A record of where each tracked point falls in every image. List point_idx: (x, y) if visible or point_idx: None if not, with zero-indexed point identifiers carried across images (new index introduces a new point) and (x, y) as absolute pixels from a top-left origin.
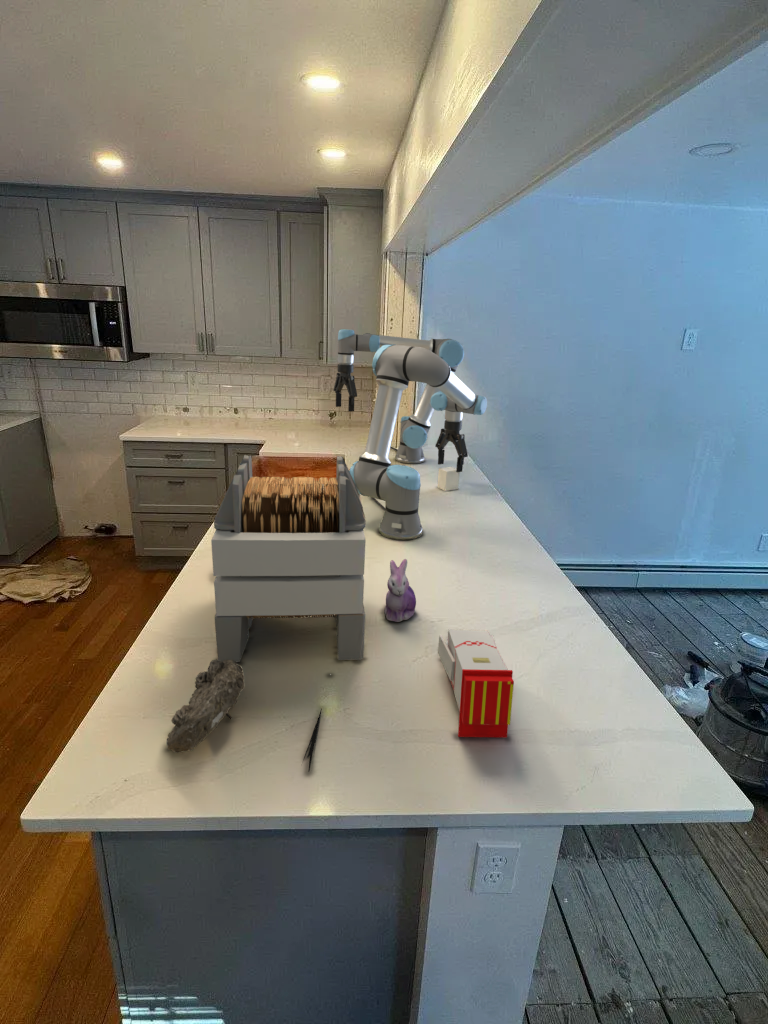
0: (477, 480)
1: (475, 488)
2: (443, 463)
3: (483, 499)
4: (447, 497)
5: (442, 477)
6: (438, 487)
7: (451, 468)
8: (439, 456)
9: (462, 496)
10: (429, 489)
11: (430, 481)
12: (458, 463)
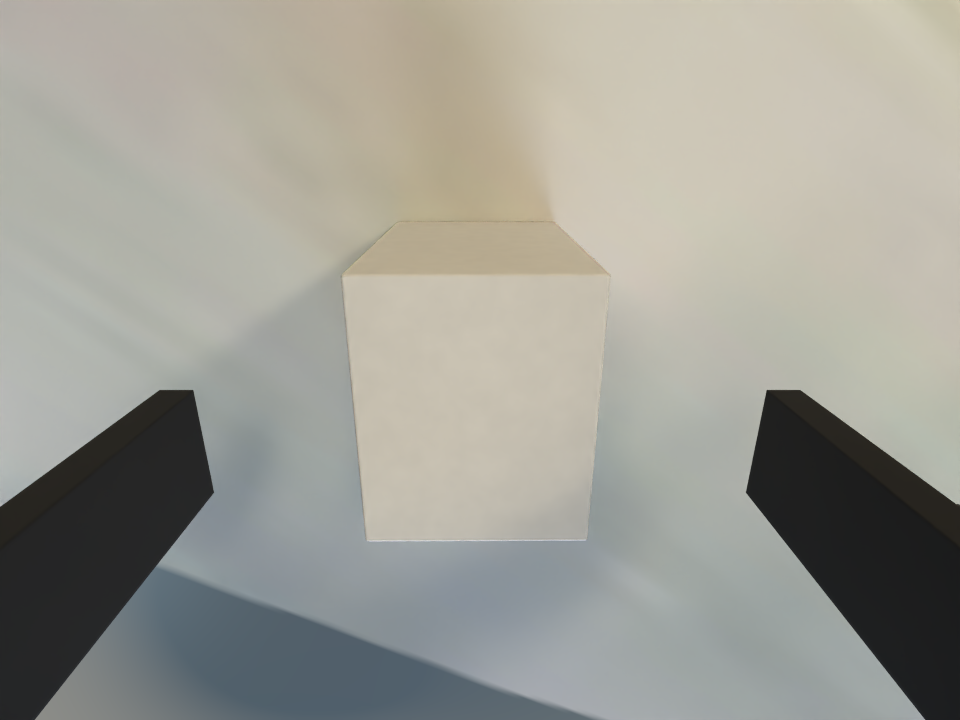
0: (561, 690)
1: (367, 554)
2: (751, 494)
3: (28, 424)
4: (164, 88)
5: (465, 246)
6: (533, 222)
7: (492, 476)
8: (881, 488)
9: (162, 288)
10: (531, 67)
11: (783, 288)
12: (22, 506)
